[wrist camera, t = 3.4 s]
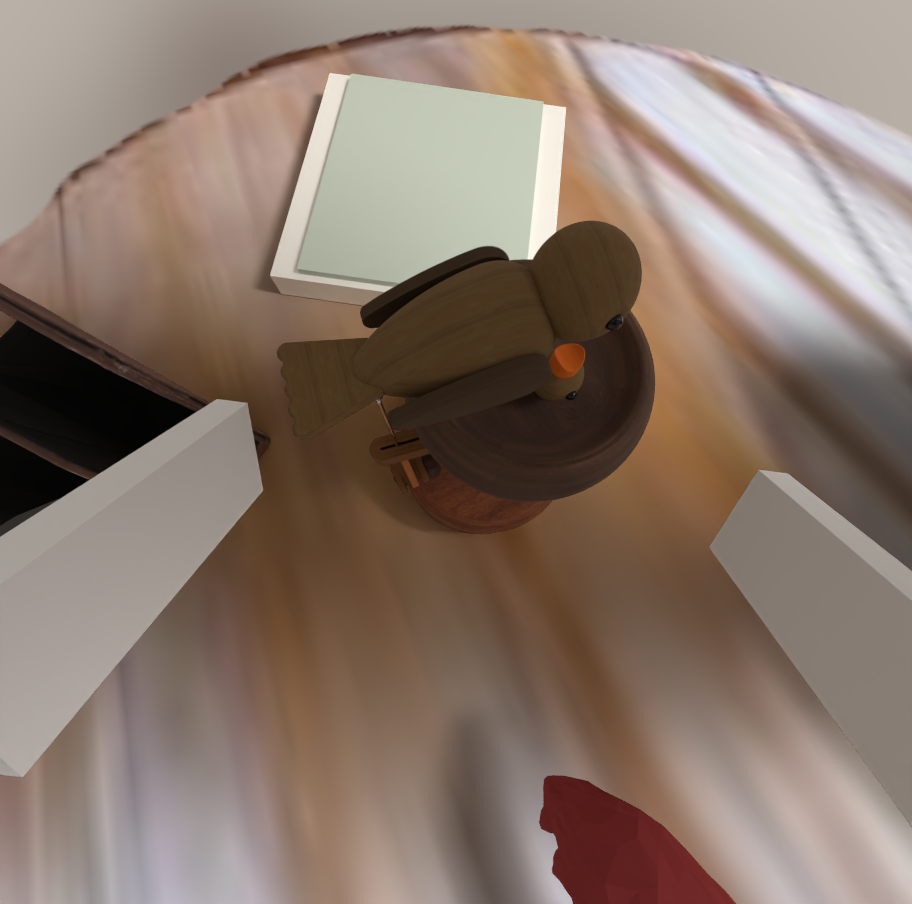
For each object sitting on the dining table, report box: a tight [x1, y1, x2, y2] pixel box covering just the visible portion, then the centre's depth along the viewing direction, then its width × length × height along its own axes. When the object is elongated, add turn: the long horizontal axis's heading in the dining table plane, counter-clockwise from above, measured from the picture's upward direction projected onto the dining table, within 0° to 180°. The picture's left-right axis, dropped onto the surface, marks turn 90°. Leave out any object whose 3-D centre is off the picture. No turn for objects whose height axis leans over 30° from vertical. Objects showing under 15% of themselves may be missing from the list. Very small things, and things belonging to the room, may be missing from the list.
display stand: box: [270, 73, 566, 306], centre depth 30 cm, size 20×20×2 cm
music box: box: [277, 221, 655, 534], centre depth 17 cm, size 15×11×20 cm
